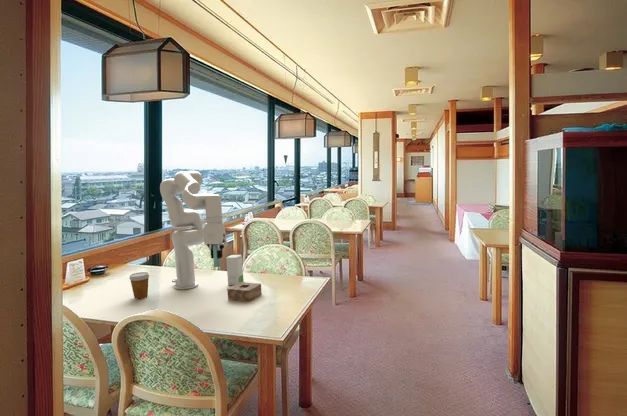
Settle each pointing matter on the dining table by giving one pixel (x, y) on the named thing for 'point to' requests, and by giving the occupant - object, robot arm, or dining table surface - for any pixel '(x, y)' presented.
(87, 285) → the dining table surface
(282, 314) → the dining table surface
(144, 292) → the disposable coffee cup
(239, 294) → the socket block
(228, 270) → the skincare box
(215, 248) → the peg
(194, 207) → the robot arm
